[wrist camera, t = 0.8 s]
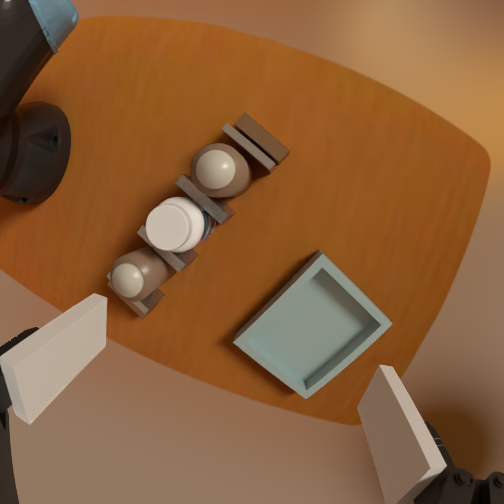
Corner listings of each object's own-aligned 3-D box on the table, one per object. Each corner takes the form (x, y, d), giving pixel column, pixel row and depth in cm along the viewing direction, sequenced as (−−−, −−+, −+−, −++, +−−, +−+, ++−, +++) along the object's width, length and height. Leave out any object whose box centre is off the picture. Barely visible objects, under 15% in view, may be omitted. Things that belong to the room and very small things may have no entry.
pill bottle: (202, 251, 34) (176, 270, 25) (164, 227, 34) (129, 239, 25) (225, 211, 33) (206, 217, 24) (186, 188, 33) (155, 186, 24)
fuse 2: (203, 178, 32) (176, 173, 24) (230, 146, 32) (213, 130, 23) (233, 205, 33) (217, 209, 24) (261, 174, 32) (255, 166, 23)
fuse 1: (136, 261, 35) (98, 280, 26) (157, 233, 34) (121, 246, 26) (163, 287, 35) (131, 313, 27) (186, 260, 34) (157, 281, 26)
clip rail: (118, 277, 36) (98, 289, 31) (247, 119, 31) (242, 106, 26) (152, 310, 36) (135, 325, 31) (288, 154, 31) (290, 147, 26)
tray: (236, 333, 36) (233, 342, 33) (319, 249, 33) (322, 253, 30) (305, 387, 36) (306, 399, 34) (385, 315, 34) (392, 324, 31)
